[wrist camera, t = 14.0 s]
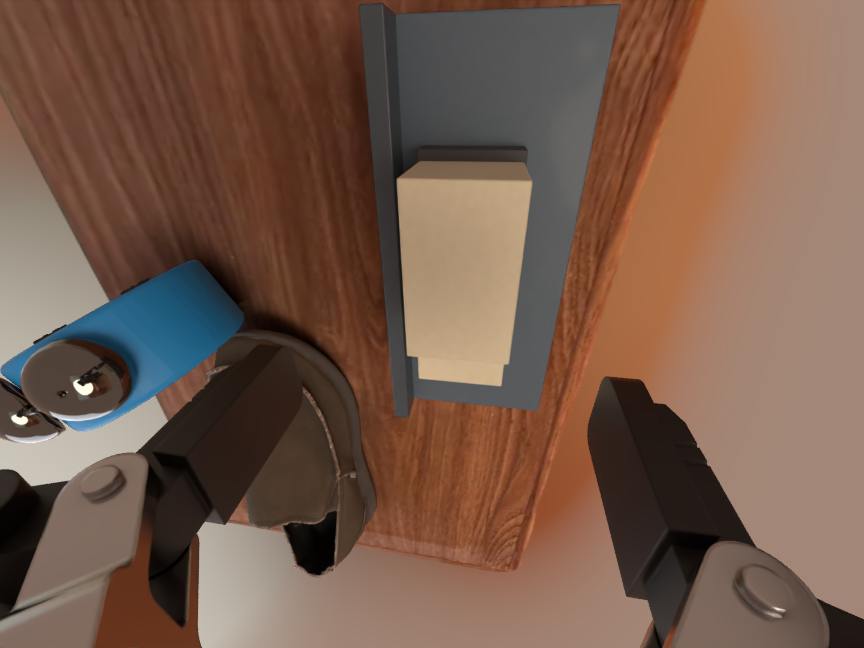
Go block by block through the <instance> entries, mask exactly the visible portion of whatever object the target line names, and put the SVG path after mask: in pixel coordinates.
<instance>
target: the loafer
mask: <svg viewBox="0 0 864 648" xmlns="http://www.w3.org/2000/svg"><path fill="white" fill-rule="evenodd" d="M259 344H270V345H281V346H288V347H290V348H291V349H292V351H293V354H294V357H295V361H296V365H297V369H298V372H299V376H300V380H301V383H302V387H303V401H302V405H301V408H300V410H299V412H298V413H297V415H296V416H295V418H294V419H293V421H292V422H291V424H290V426H289V427H288V429H287V430H286V432H285V433H284V435H283V436H282V438H281V439H280V441H279V443H278V444H277V446H276V447H275V449H274V450H273V452H272V453H271V455H270V456H269V458H268V460H267V461H266V463H265V464H264V466H263V467H262V469H261V470H260V472H259V473H258V475H257V477H256V478H255V480H254V481H253V483H252V484H251V486H250V487H249V489H248V490H247V492H246V494H245V497H246V505H247V512H248V517H249V524H250V525H252V526H254V527H257V528H262V529H269V530H271V529H272V528H274V527H278V526H280V527H281V529H282V531H283V533H284V535H285V538H286V539H287V542H288V544H289V546H290V550H291V553H292V555H293V558H294V561H295V564H296V566H294V567H293V568H300V569H301V570H302V571H304V572H305V573H307V574H308V575H310V576H312V577H318V578H320V577H322V576H324V575H325V574H327V573H328V572H329V571H333V569H334V568H335V567H337V565H338V564H339V563H341V562H342V561H343V559H344V558H346V557H347V555H348V554H349V553H350V552H351V550H352V548H353V547H354V545H355V543H356V542H357V541H358V539H359V538H360V536H361V535H362V533H363V531H364V528H365V525H366V524H367V523H368V522H369V520H370V519H371V517H372V516H373V514H374V512H375V509H376V506H377V500H376V495H375V490H374V487H373V483H372V480H371V477H370V474H369V471H368V468H367V465H366V462H365V459H364V456H363V452H362V446H361V432H360V419H359V413H358V407H357V403H356V400H355V397H354V394H353V392H352V389H351V387H350V386H349V384H348V382H347V380H346V379H345V377H344V376H343V374H342V373H341V372H340V371H339V370H338V368H337V367H336V366H335V365H334V364H333V363H332V362H331V361H330V360H329V359H328V358H327V357H325V356H324V355H323V354H322V353H320V352H319V351H318V350H316V349H315V348H314V347H312V346H310V345H309V344H307V343H305V342H303V341H301V340H299V339H297V338H295V337H293V336H290V335H287V334H284V333H279V332H275V331H267V330H259V329H242V330H237V331H236V333H235V334H234V335H233V336H232V337H230V338H229V339H228V340H227V341H226V342H225V343H224V344H223V345H222V346H221V347H219V348H218V351H217V354H216V361H215V367H214V368H213V369H211V370H210V371H208V372H206V375H207V383H209V382H210V381H211V380H212V379H213V378H214V377H215V376H216V375H217V374H218V373H219V372H220V371H222V370H224V369H225V368H227V367H229V366H230V365H232V364H234V363H235V362H237V361H239V360H240V361H242V360H243V359H244V358H245V357H246V356H247V355H248V354H249V353H250V352H251V351H252V349H253V348H254V347H256V346H257V345H259Z"/></svg>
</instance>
